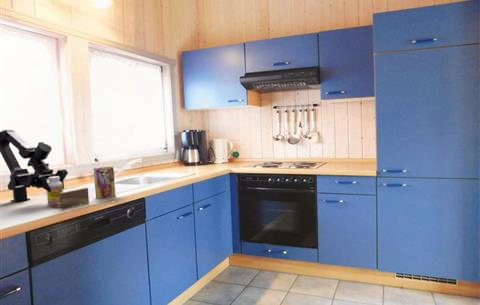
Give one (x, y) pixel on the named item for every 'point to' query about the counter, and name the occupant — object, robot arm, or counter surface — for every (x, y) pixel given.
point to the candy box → (104, 182)
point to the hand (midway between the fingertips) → (56, 190)
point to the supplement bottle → (54, 189)
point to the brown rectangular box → (71, 199)
